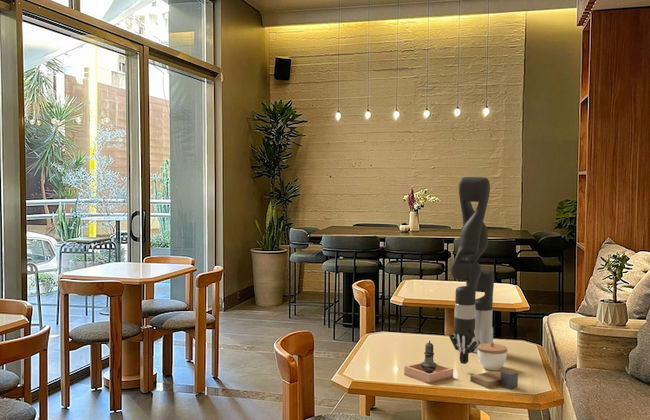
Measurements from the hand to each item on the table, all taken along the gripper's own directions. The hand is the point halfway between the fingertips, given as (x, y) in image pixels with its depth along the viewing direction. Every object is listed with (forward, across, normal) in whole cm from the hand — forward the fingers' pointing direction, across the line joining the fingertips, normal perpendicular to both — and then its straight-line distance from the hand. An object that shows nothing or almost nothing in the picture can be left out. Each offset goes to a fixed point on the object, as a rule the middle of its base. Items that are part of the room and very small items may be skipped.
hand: (463, 363), depth 230 cm
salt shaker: (+2, +3, +14) cm, 15 cm away
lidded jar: (+3, -3, -12) cm, 13 cm away
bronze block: (+3, -14, +2) cm, 14 cm away
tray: (+3, +3, +15) cm, 15 cm away
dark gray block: (+3, -20, +1) cm, 20 cm away
